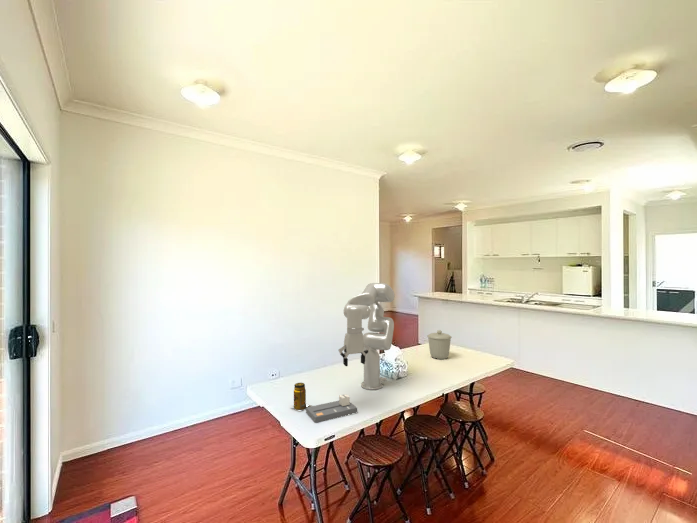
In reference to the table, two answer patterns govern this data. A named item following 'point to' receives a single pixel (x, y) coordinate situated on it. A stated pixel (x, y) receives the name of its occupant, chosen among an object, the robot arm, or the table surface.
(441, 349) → the canister
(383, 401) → the table surface
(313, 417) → the fader console
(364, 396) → the table surface
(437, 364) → the table surface
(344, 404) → the fader knob
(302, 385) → the condiment
